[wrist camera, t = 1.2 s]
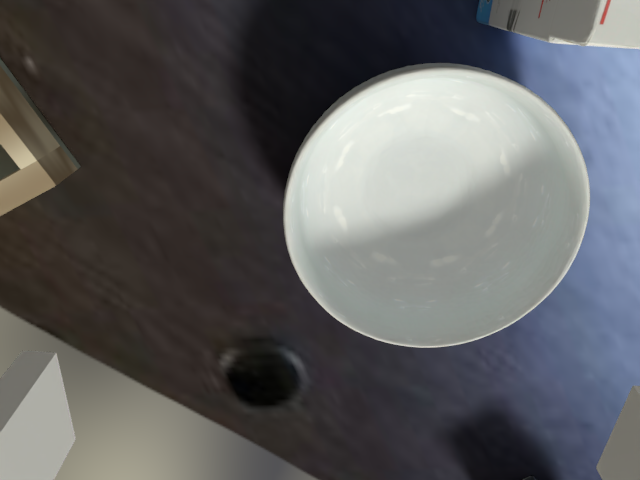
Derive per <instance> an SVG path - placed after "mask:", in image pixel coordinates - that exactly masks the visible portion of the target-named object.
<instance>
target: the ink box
mask: <svg viewBox="0 0 640 480" xmlns="http://www.w3.org/2000/svg"><path fill="white" fill-rule="evenodd" d="M476 19H477V22H478V23H482V24H486V25H489V26H493V27H497V28H500V29H503V30H507V31H511V32H514V33H518V34H521V35H524V36H528V37H532V38H535V39H539V40H543V41H547V42H549V43H557V44H571V45H580V46H600V47H616V48H632V49H640V0H479V5H478V10H477V16H476Z"/></svg>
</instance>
